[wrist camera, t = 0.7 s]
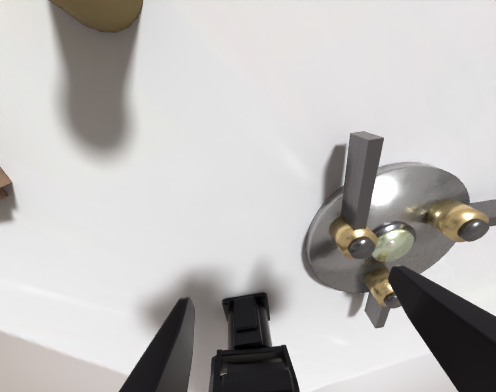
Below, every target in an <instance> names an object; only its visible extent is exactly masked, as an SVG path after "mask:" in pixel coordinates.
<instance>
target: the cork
mask: <svg viewBox="0 0 496 392" xmlns="http://www.w3.org/2000/svg"><path fill="white" fill-rule="evenodd" d="M50 1H51V2H53V3H54V4H56V5H57V6H59V7H60V8H61V9H63V10H64V11H66V12H67V13H69V14H70V15H71V16H73V17H74V18H76V19H77V20H79V21H80V22H82V23H83V24H84V25H86V26H88V27H91V28H93V29H96V30H98V31H101V32H117V31H120V30H122V29H125V28H128V27H129V26H130V25H131V23H132V22H133V21H134V20H135V19H136V18H137V17H138V14H139V12H140V9H141V6H142V4H143V0H50Z"/></svg>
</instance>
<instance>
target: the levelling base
mask: <svg viewBox="0 0 496 392" xmlns="http://www.w3.org/2000/svg"><path fill="white" fill-rule="evenodd" d="M343 191H344V186H342V187H341V188H340V189H338V190H337V191H336V192H335V193H334V194H333V195H332V196H331V197H330V198H329V199H328V200H327V201H326V202H325V203H324V204H323V205H322V207H321V208H320V209H319V211H318V212H317V214H316V215H315V217H314V219H313V221H312V223H311V225H310V227H309V230H308V234H307V238H306V253H307V257H308V260H309V262H310V264H311V266H312V268H313V271H314V273H315V274H316V276H317V277H318V278H319V279H320V280H321V281H322V282H323V283H324V284H326V285H328V286H329V287H332V288H334V289H336V290H340V291H344V292H352V293H365V292H369V295H368V299H367V303H366V307H365V312H366V314H367V316H368V317H369V319H370V320H371V322H372V324H373V325H374V327H375V328H381V327H384V324H385V322H386V319H387V316H388V313H389V311H390V308H397V307H400V306H401V304H400V302H399V300H398V299H397V297H396V295H395V293H394V291H393V290H392V288H391V286H390V284H389V282H388V276H389V273H390V270H391V268H392V267H393V266H397V265H403V266H406V267H407V268H409V269H411V270H413V271H415V272H417V273H418V274H420V273H422V272H424V271H425V270H427V269H428V268H429V267H431V266H432V265H433V264H435V263H436V262H437V261H438V260H440V259H441V258H442V257H443V256H444V255H445V254H446V253H447V252H448V251H449V249H450V248H451V247H452V246H453V245H454V244H455V241H453V240H452V239H450V238H449V237H447V236H446V235H444V234H443V233H441V232H440V231H438V230H437V229H436V228H434V227H433V226H431V225H430V224H428V223H427V222H426V219H425V217H426V214H427V212H428V210H429V209H430V208H431V207H432V206H433V205H434V204H435V203H437V202H439V201H441V200H443V199H447V198H453V199H455V200H457V201H459V202H461V203H463V204H470V200H469V195H468V192H467V189H466V188H465V186H464V184H463V183H462V182H461V181H460V180H459V179H458V178H457V177H456V176H454V175H453V174H451V173H449V172H446V171H444V170H441V169H439V168H436V167H433V166H431V165H428V164H423V163H418V162H402V163H394V164H389V165H385V166H382V167H379V168H378V170H377V175H376V180H375V185H374V190H373V196H372V201H371V206H370V211H369V216H368V221H367V227H368V228H369V229H370V230H371V231H372V232H373V233H374V234H375V235H376V236H377V239H378V242H377V245H376V247H375V250H374V252H373V253H372V254H371V255H370V256H368V257H366V258H363V259H349V258H347V257H345V256H344V255H343V253H342V252H341V251H340V249H339V248H338V246H337V245H336V243H335V242H334V240H333V239H332V238H331V236H330V234H329V226H330V224H331V223H332V222H333V221H334V220H335V219H336V218H337V217H339V216H341V208H342V200H343Z"/></svg>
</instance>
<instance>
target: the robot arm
mask: <svg viewBox="0 0 496 392" xmlns="http://www.w3.org/2000/svg"><path fill="white" fill-rule="evenodd" d="M388 282H389V284H390V286H391V288H392V290H393V291H394V293H395V295H396V297H397V299H398V300H399V302H400V304H401V306H402V307H403V309H404V311H405V313H406V315H407V316H408V318H409V319H410V321H411V323H412V324H413V326H414V327H415V329H416V330H417V331H418V333H419V334H420V336H421V337H422V339H423V340H424V342H425V343H426V345H427V346H428V348H429V349H430V351H431V352H432V353H433V355H434V356H435V358H436V359H437V361H438V362H439V364H440V365H441V367H442V368H443V370H444V371H445V372H446V374H447V375H448V377H449V378H450V380H451V381H452V383H453V384H454V386H455V387H456V389H457V390H458V391H459V392H496V316H494V315H492V314H490V313H489V312H487V311H485V310H483V309H481V308H480V307H478V306H476V305H474V304H472V303H471V302H469V301H467V300H465V299H463V298H462V297H460V296H458V295H456V294H454V293H453V292H451V291H449V290H447V289H445V288H444V287H442V286H440V285H438V284H436V283H435V282H433V281H431V280H429V279H427V278H426V277H424V276H422V275H420V274H418V273H417V272H415V271H413V270H411V269H409V268H407V267H406V266H403V265H397V266H393V267H392V268H391V270H390V273H389V276H388ZM222 305H223V308H224V311H225V314H226V318H227V321H228V350H217V355H216V356H214V357H213V358H212V363H211V376H210V385H209V392H300V391H299V386H298V382H297V378H296V375H295V372H294V369H293V366H292V363H291V360H290V357H289V353H288V350H287V347H286V345H281V346H274V347H272V342H271V336H270V330H269V324H268V321H269V320H270V316H269V308H268V300H267V294H266V293H260V294H254V295H248V296H241V297H235V298H229V299H224V300H223V301H222ZM194 321H195V309H194V306H193V303H192V301H191V298H190V297H183V298H180V299H179V300H178V302H177V303H176V305H175V306H174V308H173V309H172V311H171V312H170V314H169V316H168V317H167V319H166V320H165V322H164V323H163V325H162V326H161V328H160V329H159V331H158V332H157V334H156V335H155V337H154V339H153V340H152V342H151V343H150V345H149V346H148V348H147V349H146V351H145V352H144V354H143V355H142V357H141V358H140V360H139V362H138V363H137V365H136V366H135V368H134V369H133V371H132V372H131V374H130V375H129V377H128V378H127V380H126V381H125V383H124V385H123V386H122V388H121V389H120V391H119V392H187V389H188V382H189V376H190V369H191V362H192V355H193V340H194ZM222 373H227V374H224V375H222Z"/></svg>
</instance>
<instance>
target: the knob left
mask: <svg viewBox="0 0 496 392" xmlns="http://www.w3.org/2000/svg"><path fill="white" fill-rule="evenodd" d="M383 140H384V138H383V137H380V136H377V135H374V134H371V133H367V132H364V131H363V132H356V133H350V140H349V148H348V157H347V165H346V174H345V182H344V191H343V200H342V208H341V216H339V217H337V218H336V219H335V220H334V221H333V222H332V223H331V224H330V226H329V234H330V236H331V238H332V239H333V240H334V242H335V243H336V245H337V246H338V248H339V249H340V251H341V252H342V253H343V255H344V256H345V257H347V258H349V259H363V258H366V257H368V256H370V255H371V254H372V253H373V252H374V250H375V247H376V245H377V242H378V239H377V236H376V235H375V234H374V233H373V232H372V231H371V230H370V229H369V228H368V227H367V221H368V216H369V211H370V206H371V201H372V196H373V190H374V185H375V180H376V175H377V170H378V165H379V160H380V155H381V150H382V145H383Z"/></svg>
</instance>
